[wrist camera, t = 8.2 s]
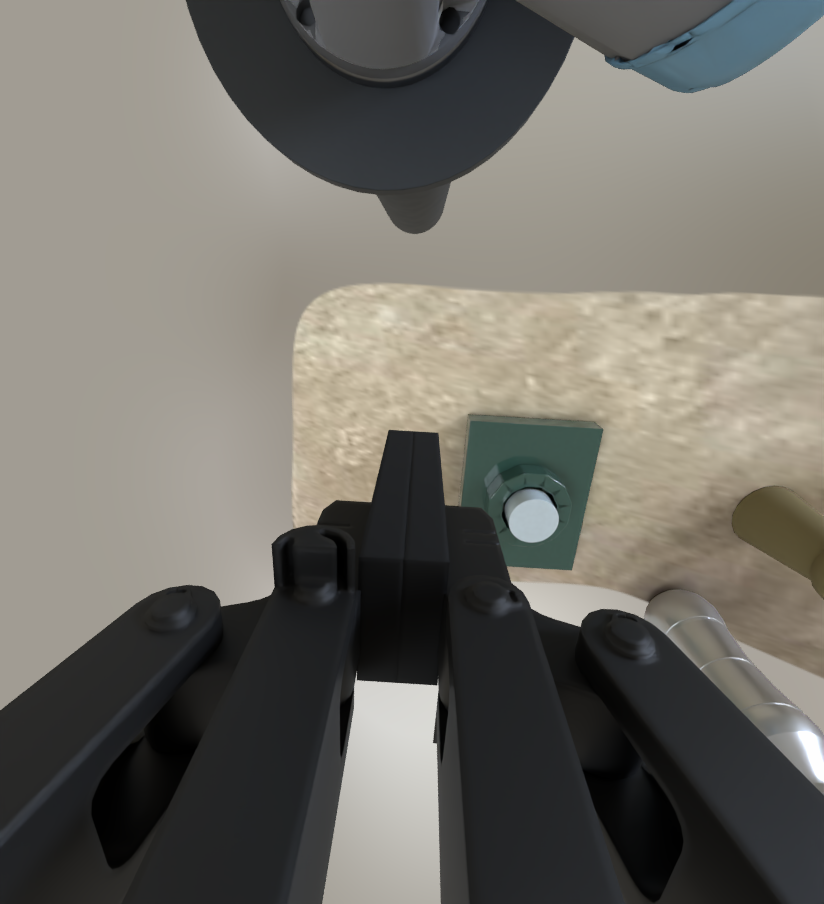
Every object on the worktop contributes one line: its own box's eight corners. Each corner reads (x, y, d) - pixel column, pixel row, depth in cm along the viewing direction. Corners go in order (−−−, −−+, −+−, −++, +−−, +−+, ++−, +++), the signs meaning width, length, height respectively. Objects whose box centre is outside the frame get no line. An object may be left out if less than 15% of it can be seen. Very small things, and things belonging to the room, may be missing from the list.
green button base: (468, 414, 38) (472, 428, 34) (594, 421, 38) (613, 437, 34) (453, 551, 43) (456, 576, 40) (565, 558, 43) (578, 584, 40)
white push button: (507, 486, 37) (512, 497, 35) (555, 489, 37) (563, 500, 35) (501, 528, 38) (505, 541, 36) (547, 531, 38) (554, 544, 36)
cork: (718, 533, 42) (814, 615, 32) (755, 477, 40) (871, 547, 29) (775, 550, 42) (887, 637, 32) (814, 496, 40) (948, 571, 30)
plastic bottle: (681, 638, 46) (852, 879, 28) (623, 620, 46) (760, 853, 27) (717, 592, 44) (929, 819, 26) (657, 571, 44) (831, 790, 25)
